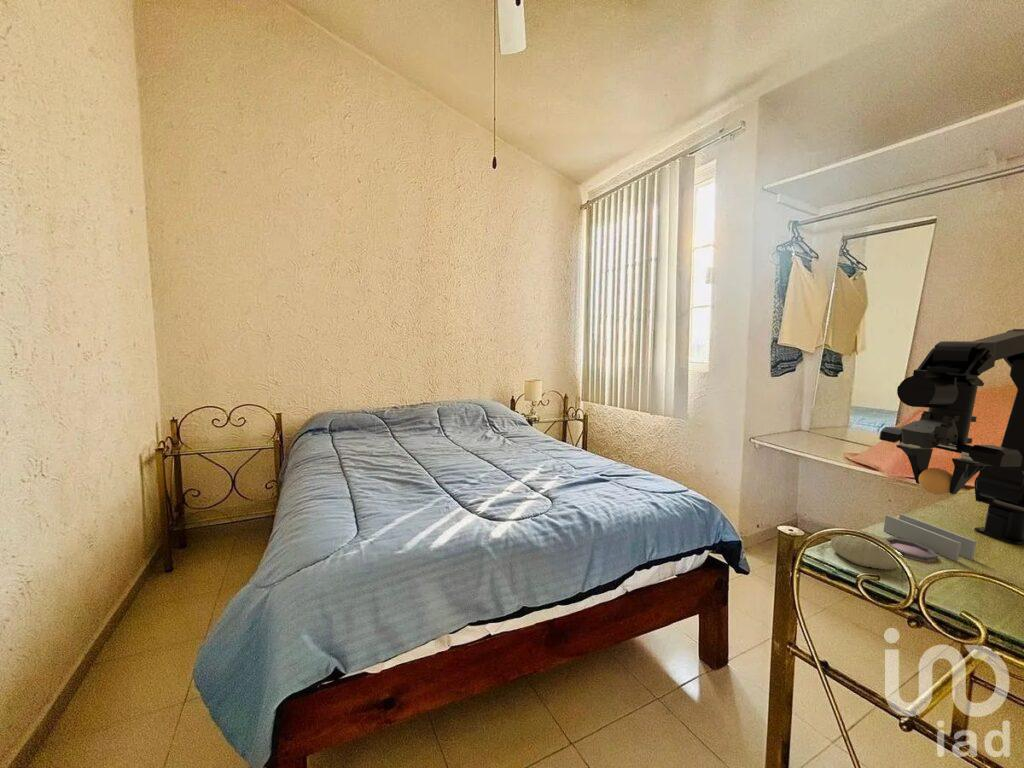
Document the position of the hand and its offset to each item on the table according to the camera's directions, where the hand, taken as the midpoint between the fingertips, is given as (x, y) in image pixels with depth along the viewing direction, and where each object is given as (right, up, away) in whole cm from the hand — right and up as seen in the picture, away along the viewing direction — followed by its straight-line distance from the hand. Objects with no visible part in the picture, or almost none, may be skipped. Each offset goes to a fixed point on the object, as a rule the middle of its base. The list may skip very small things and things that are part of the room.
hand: (935, 488), depth 80 cm
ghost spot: (-6, -12, -1) cm, 13 cm away
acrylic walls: (0, -12, +2) cm, 12 cm away
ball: (0, +1, 0) cm, 2 cm away
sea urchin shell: (-18, -12, -5) cm, 22 cm away
